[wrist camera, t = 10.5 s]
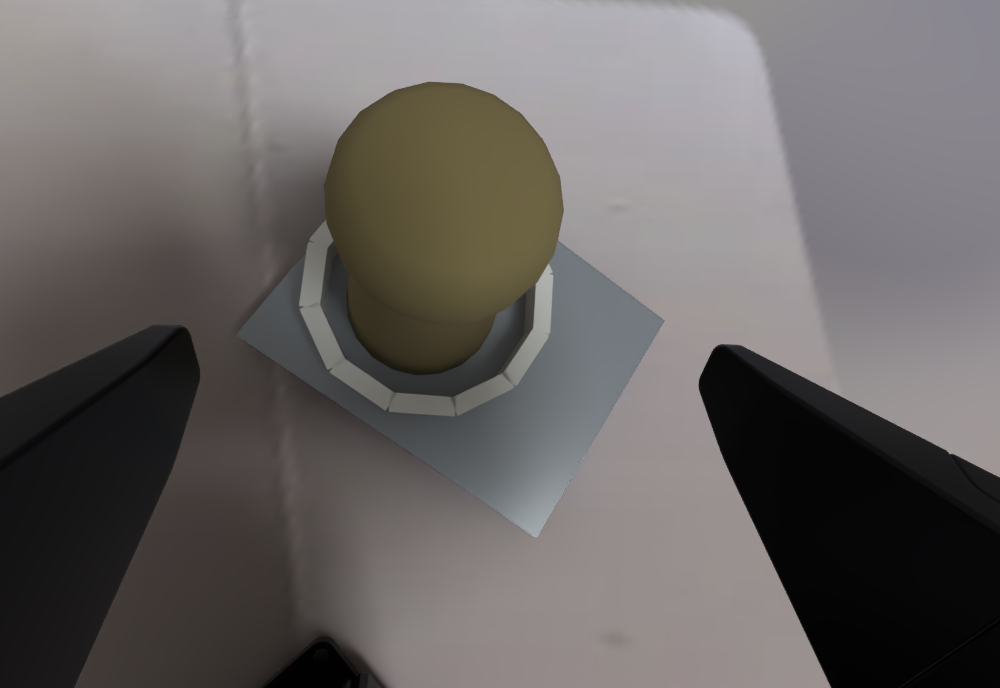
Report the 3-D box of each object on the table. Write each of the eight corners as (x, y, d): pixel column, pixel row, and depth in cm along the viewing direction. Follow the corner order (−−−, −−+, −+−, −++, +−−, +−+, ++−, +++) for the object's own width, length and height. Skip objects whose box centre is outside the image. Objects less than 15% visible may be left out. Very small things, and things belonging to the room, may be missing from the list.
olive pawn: (319, 339, 19) (223, 241, 8) (383, 206, 20) (372, -27, 9) (463, 398, 20) (545, 378, 9) (516, 267, 21) (642, 115, 10)
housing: (245, 339, 19) (221, 328, 17) (408, 144, 22) (410, 107, 19) (528, 530, 21) (547, 548, 18) (651, 325, 23) (683, 314, 21)
